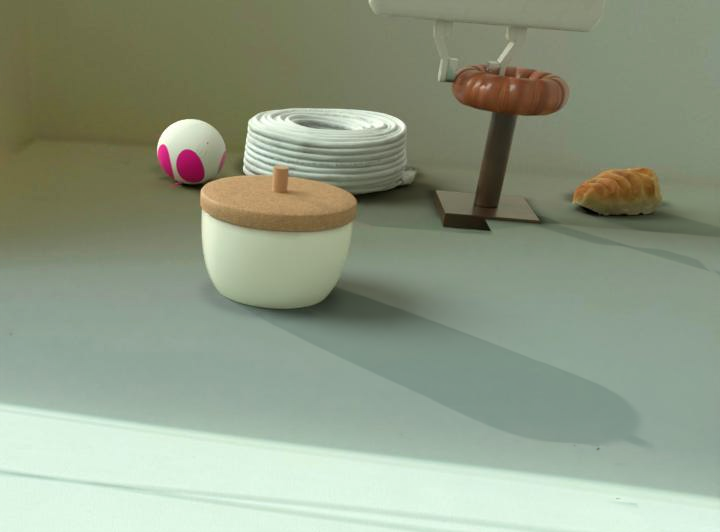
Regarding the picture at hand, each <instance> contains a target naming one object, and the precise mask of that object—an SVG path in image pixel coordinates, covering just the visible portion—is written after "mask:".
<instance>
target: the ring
mask: <svg viewBox="0 0 720 532" xmlns="http://www.w3.org/2000/svg"><path fill="white" fill-rule="evenodd" d="M486 68H487V64H472V65H467V66H463V67H461V68H459V69H458V70H457V71H456V75H457V76H456V81H455V83H451V92H452V95H453V96H454V98H455V99H456V100H457V102H458V103H460V104H461V105H464V106H466V107H470V108H472V109H475V110H479V111H485V112H491V113H492V112H495V113H501V114H511V115H518V116H520V117H521V116H523V117H534V116H535V117H538V116H539V117H541V116H542V117H543V116H549V115H552V114H554V113H557V112H559V111H560V110H562V109H563V108H564V107H565V106H566V104H567V103H568V101H569V99H570V86H569V84H568V83H567V81H566V80H565V79H563V78H562V77H561V76H560V75H558V74H555V73H551V72H547V71H544V70H539V69H533V68H528V67H522V66H515V65H514V66H512V65H507V66H506V71H505V75H504V76H500V75H494V74H488V73H487V70H486Z"/></svg>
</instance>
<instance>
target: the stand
mask: <svg viewBox="0 0 720 532" xmlns="http://www.w3.org/2000/svg"><path fill="white" fill-rule="evenodd" d="M518 119H519V115H511V114H501V113H495V112H491V115H490V121H489V126H488V130H487V135H486V140H485V145H484V150H483V154H482V155H483V156H482V160H481V165H480V170H479V175H478V179H477V184H476V190H475V192H463V191H452V190H439V189H436V190H435V193H434V197H433V205H434V208H435V209H436V212H437V215H438V217H439V219H440V222H441V224H442V225H441V226H442V227H447V228H448V227H449V228H460V229H461V228H462V229H473V230H487V231H491V228H490V226H489V224H488V222H487V220H488V221H502V222H512V223H513V222H514V223H526V224H540V222H541V220H540V219H539V217H538V216H537V214H536V213H535V212H534V210H533V209H532V207H531V206H530V205H529V204H528V203H529V202H527V200H526V199H525V198H524V197H523V196H514V195H503V194H502V191H503V185H504V181H505V177H506V174H507V173H506V172H507V168H508V165H509V164H508V163H509V158H510V154H511V149H512V145H513V141H514V137H515V131H516V127H517V122H518ZM501 194H502V195H501Z"/></svg>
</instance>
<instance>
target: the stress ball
mask: <svg viewBox="0 0 720 532" xmlns="http://www.w3.org/2000/svg"><path fill="white" fill-rule="evenodd" d="M157 135H158V136H159V139H158V142H157V148H156V155H157V160H158V162H159V165H160V167H161V168H162V170H163V172H164V173H166V175H167V176H169V177H170V178H171V179H173V180H175V181H177V182H176V183H173V184H170V185H167V186H166V188H169V187H172V186H177V185H181V184H185V185H201V184H204V183H208V182H210V181H212V179H214V178H215V177H217V175H218V174H219V173H220V172H221V170H222V169H223V167H224V165H225V162H226V156H227V149H226V144H225V140H224V139H223V137H222V135H221V134H220V132H219V131H218V130H217V129H216V128H215V127H214V126H213V125H211V124H209V123H208V122H206V121H203V120H201V119H194V118H187V119H180V120H178V121H176V122H174V123H172V124H170V125H169V126H167V128H166V129H165V130H164V131H163V132H162V133H161V134H159V133H157Z"/></svg>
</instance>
